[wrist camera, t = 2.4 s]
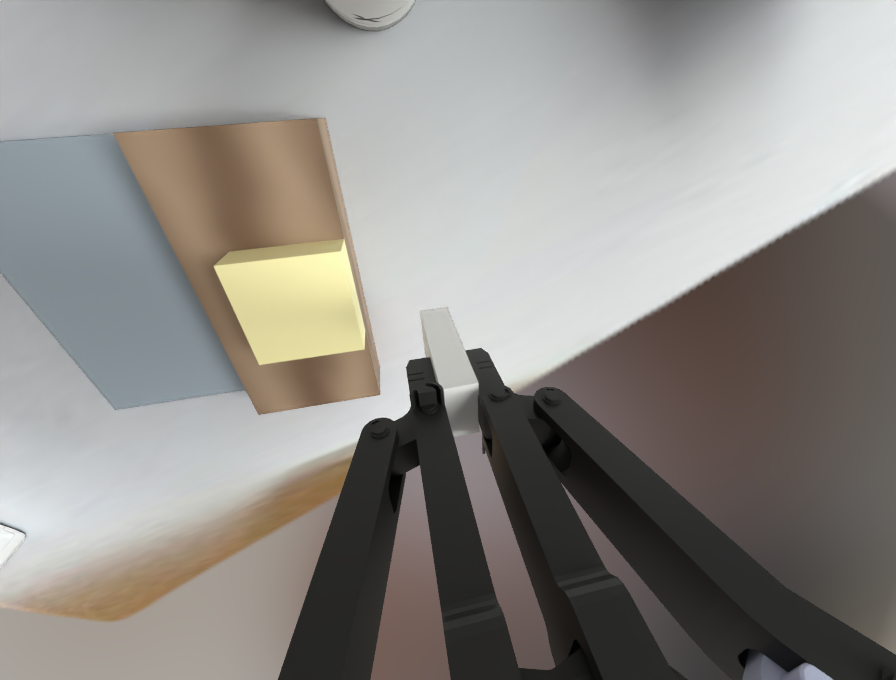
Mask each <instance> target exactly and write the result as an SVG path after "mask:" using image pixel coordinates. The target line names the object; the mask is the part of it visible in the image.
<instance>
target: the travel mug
mask: <svg viewBox="0 0 896 680" xmlns="http://www.w3.org/2000/svg"><path fill="white" fill-rule="evenodd" d="M324 1H325V2H326V3H327V4H328V6H329V7H330V8H331V9H332V10H333V11H334V12H335V13H336V14H337V15H338V16H339V17H341V18H342V19H343V20H344V21H345V22H347V23H349V24H351V25H353V26H355V27H357V28H360V29H364V30H369V31H379V30H383V29H387V28H390V27H392V26H394V25H395V24H397V23H399V22H400V21H401V20H402V19H403V18H404V17H405V16H406V15H407V14H408V13H409V11H410V10H411V8H412V7H413V5H414V3H415V1H416V0H324Z"/></svg>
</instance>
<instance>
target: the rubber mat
mask: <svg viewBox="0 0 896 680" xmlns="http://www.w3.org/2000/svg"><path fill="white" fill-rule="evenodd" d="M0 273H1V274H2V275H3V276H4V277H5V279H6V280H7V281H8V282H9V283H10V284H11V286H12V287H13V288H14V289H15V290H16V292H17V293H18V294H19V295H20V296H21V298H22V299H23V300H24V301H25V302H26V304H27V305H28V306H29V307H30V308H31V310H32V311H33V312H34V313H35V314H36V316H37V317H38V318H39V319H40V320H41V322H42V323H43V324H44V325H45V326H46V328H47V329H48V330H49V331H50V332H51V334H52V335H53V336H54V337H55V338H56V340H57V341H58V342H59V343H60V344H61V346H62V347H63V348H64V349H65V350H66V352H67V353H68V354H69V355H70V356H71V358H72V359H73V360H74V361H75V362H76V364H77V365H78V366H79V367H80V368H81V369H82V371H83V372H84V373H85V374H86V375H87V377H88V378H89V379H90V380H91V381H92V383H93V384H94V385H95V386H96V387H97V389H98V390H99V391H100V392H101V393H102V395H103V396H104V397H105V398H106V399H107V401H108V402H109V403H110V404H111V405H112V407H113V408H114V409H115V410H118V409H124V408H131V407H137V406H144V405H150V404H156V403H163V402H169V401H176V400H182V399H189V398H195V397H201V396H208V395H214V394H221V393H227V392H234V391H240V390H246V389H245V387H244V385H243V384H242V382H241V380H240V378H239V376H238V374H237V372H236V370H235V368H234V366H233V364H232V362H231V360H230V358H229V356H228V355H227V353H226V351H225V349H224V347H223V345H222V343H221V341H220V339H219V337H218V335H217V333H216V331H215V329H214V327H213V326H212V324H211V322H210V320H209V318H208V316H207V314H206V312H205V310H204V308H203V306H202V304H201V302H200V300H199V299H198V297H197V295H196V293H195V291H194V289H193V287H192V285H191V283H190V281H189V279H188V277H187V275H186V273H185V271H184V270H183V268H182V266H181V264H180V262H179V260H178V258H177V256H176V254H175V252H174V250H173V248H172V246H171V244H170V242H169V241H168V239H167V237H166V235H165V233H164V231H163V229H162V227H161V225H160V223H159V221H158V219H157V217H156V215H155V213H154V212H153V210H152V208H151V206H150V204H149V202H148V200H147V198H146V196H145V194H144V192H143V190H142V188H141V186H140V185H139V183H138V181H137V179H136V177H135V175H134V173H133V171H132V169H131V167H130V165H129V163H128V161H127V159H126V157H125V156H124V154H123V152H122V150H121V148H120V146H119V144H118V142H117V140H116V138H115V136H114V134H100V135H86V136H72V137H59V138H45V139H31V140H17V141H3V142H0Z"/></svg>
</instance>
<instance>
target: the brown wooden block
mask: <svg viewBox="0 0 896 680" xmlns="http://www.w3.org/2000/svg"><path fill="white" fill-rule="evenodd" d="M113 134H114V136H115V138H116V140H117V142H118V144H119V146H120V148H121V150H122V152H123V154H124V156H125V157H126V159H127V161H128V163H129V165H130V167H131V169H132V171H133V173H134V175H135V177H136V179H137V181H138V183H139V185H140V186H141V188H142V190H143V192H144V194H145V196H146V198H147V200H148V202H149V204H150V206H151V208H152V210H153V212H154V213H155V215H156V217H157V219H158V221H159V223H160V225H161V227H162V229H163V231H164V233H165V235H166V237H167V239H168V241H169V242H170V244H171V246H172V248H173V250H174V252H175V254H176V256H177V258H178V260H179V262H180V264H181V266H182V268H183V270H184V271H185V273H186V275H187V277H188V279H189V281H190V283H191V285H192V287H193V289H194V291H195V293H196V295H197V297H198V299H199V300H200V302H201V304H202V306H203V308H204V310H205V312H206V314H207V316H208V318H209V320H210V322H211V324H212V326H213V327H214V329H215V331H216V333H217V335H218V337H219V339H220V341H221V343H222V345H223V347H224V349H225V351H226V353H227V355H228V356H229V358H230V360H231V362H232V364H233V366H234V368H235V370H236V372H237V374H238V376H239V378H240V380H241V382H242V384H243V385H244V387H245V389H246V391H247V393H248V395H249V397H250V399H251V401H252V403H253V405H254V407H255V409H256V411H257V413H258V414H259V415H260V414H266V413H273V412H279V411H285V410H291V409H297V408H303V407H309V406H315V405H321V404H327V403H333V402H340V401H346V400H352V399H358V398H364V397H370V396H376V395H380V366H379V362H378V357H377V352H376V348H375V343H374V339H373V334H372V329H371V325H370V320H369V316H368V311H367V306H366V302H365V297H364V293H363V288H362V284H361V279H360V274H359V270H358V265H357V261H356V256H355V251H354V247H353V242H352V238H351V233H350V228H349V224H348V219H347V215H346V210H345V205H344V201H343V196H342V192H341V187H340V182H339V178H338V173H337V169H336V164H335V160H334V155H333V150H332V146H331V141H330V137H329V132H328V127H327V123H326V118H314V119H300V120H286V121H272V122H258V123H245V124H231V125H217V126H203V127H189V128H175V129H161V130H147V131H133V132H119V133H113ZM338 239H344V240H345V244H346V249H347V253H348V258H349V262H350V266H351V271H352V275H353V279H354V284H355V288H356V292H357V297H358V301H359V305H360V310H361V314H362V318H363V323H364V327H365V350H358V351H351V352H344V353H338V354H331V355H324V356H317V357H311V358H304V359H297V360H290V361H284V362H277V363H270V364H263V365H259V364H258V361H257V359H256V357H255V355H254V353H253V351H252V348H251V346H250V344H249V342H248V340H247V338H246V335H245V333H244V331H243V329H242V327H241V325H240V323H239V320H238V318H237V316H236V314H235V312H234V310H233V307H232V305H231V303H230V301H229V299H228V297H227V294H226V292H225V290H224V288H223V286H222V284H221V282H220V279H219V277H218V275H217V273H216V271H215V269H214V265H215V264H216V263H217V262H218V261H219V260H221V259H222V258H223V257H224V256H225V255H226V254H227V253H228V252H230V251H239V250H248V249H257V248H266V247H275V246H284V245H293V244H302V243H311V242H320V241H329V240H338Z"/></svg>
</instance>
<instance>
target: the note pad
mask: <svg viewBox="0 0 896 680" xmlns="http://www.w3.org/2000/svg"><path fill="white" fill-rule="evenodd" d="M214 269H215V271H216V273H217V275H218V277H219V279H220V282H221V284H222V286H223V288H224V290H225V292H226V294H227V297H228V299H229V301H230V303H231V305H232V307H233V310H234V312H235V314H236V316H237V318H238V320H239V323H240V325H241V327H242V329H243V331H244V333H245V335H246V338H247V340H248V342H249V344H250V346H251V348H252V351H253V353H254V355H255V357H256V359H257V361H258V364H259V365H263V364H270V363H277V362H284V361H290V360H297V359H304V358H311V357H317V356H324V355H331V354H338V353H344V352H351V351H358V350H365V327H364V323H363V318H362V314H361V310H360V305H359V301H358V297H357V292H356V288H355V284H354V279H353V275H352V271H351V266H350V262H349V258H348V253H347V249H346V244H345V240H344V239H338V240H329V241H320V242H311V243H302V244H293V245H284V246H275V247H266V248H257V249H248V250H239V251H230V252H228V253H227V254H226V255H225V256H224V257H223V258H222V259H221V260H219V261H218V262H217V263H216V264H215V265H214Z"/></svg>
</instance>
